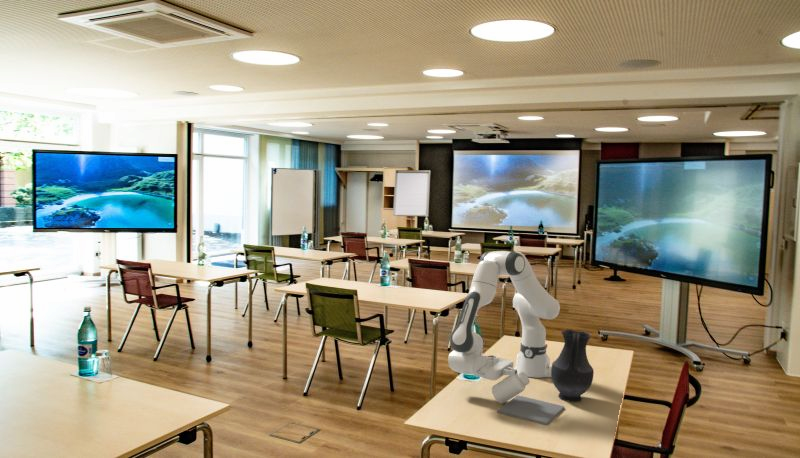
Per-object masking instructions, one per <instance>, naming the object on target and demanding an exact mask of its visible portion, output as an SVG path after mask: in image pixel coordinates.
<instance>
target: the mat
mask: <svg viewBox="0 0 800 458" xmlns="http://www.w3.org/2000/svg"><path fill="white" fill-rule="evenodd" d="M564 409H565V406H564V405H560V404H556V403H553V402H547V401H544V400H539V399H534V398H531V397H527V396H523V395H519V394H518V395H516V396H514V397H513V398H511V399H510V400H508V401H507V403H505V404H504V405H503V406H501V407H500V408H499V409H497V411H496V412H497V413H498V414H502V415H505V416H510V417H513V418H518V419H521V420H525V421H529V422H533V423H537V424H541V425H545V426H548V424H550V422H552V420H554V419H555V418H556V417H557V416H558V415H559V414H560V413H561V412H562V411H564Z"/></svg>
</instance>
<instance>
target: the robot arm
mask: <svg viewBox="0 0 800 458" xmlns="http://www.w3.org/2000/svg"><path fill="white" fill-rule="evenodd" d="M499 276H509V278H510V280H511V282H512V285H513V287H514V289H515V290H516V293H515V294H514V296H513V298H512V306H513V308H514V309H515V311H516V312H517V314H518V316H519V319H520V323H521V329H522V330H521V343H520V346H519V347H520V349H519V350H520V351H519V352H518V353H517V355H516V360H515V362H516V363H515V362H514V361H512V360H511V359H507V358H503V357H497V355H482V351H483V349H484V339H483V338H482V336H481V335H480V334H479V333H476V332H474V331H473V326H474V323H475V319H476V316H477V313H478V311H479V309H481V308H483V307H484V306H487V305H490V304H491V302H492V301H493V300H494V298H495V295H496V292H497V287H498V283H499V282H498V281H499ZM560 310H561V306H560V302H559V301H558V300H557V299H556V298H555V297H553V296H552V295H551V294H550V293H549V292H548V291H547V290H546V289H545V288H544V287H543V285H542V284H541V283H540V281H539V280H538V278H537V276H536V274H535V272H534V269H533V267H532V265H531V264H530V262H529V260H528V258H527V257H526V256H525V254H523V252H521V251H508V250H496V251H493V250H492V251H491V250H490V251H485V252H484V253H482V254H481V256H480V258H479V261H478V264H477V265H476V268H475V271H474V273H473V277H472V280H471V284H470V287H469V291H468V294H467V296H466V297H465V300H464V302H463V305H462V309H461V312H460V315H459V318H458V321H457V324H456V325H455V327H454V329H452V332H451V334H450V337H449V343H450V344H449V345H450V347H452V349H453V350H452V351H451V352H449V354H448V357H447V363H448V366H449V368H450V369H451V370H452V371H453V372H457V373H459V374H462V375H473V376H475V377H479V378H483V379H486V380H490V381H498V379H500V378H501V377H503V376H509V375H513V376H514V375H515V374H519V373H521V372H524V373H525V374H526V375H527V376H528V378H538V379H539V378H552V377H551V368H552V365H550V363H551V358H550V357H549V355H548V354H547V348H548V344H547V343H546V337H547V335H546V333H547V330H546V327H545V326H544V325H543V323H542V321H541V320H540V319H542V320H554V319H555V318H557V317H558V316H559V313H560ZM514 363H515V366H514Z"/></svg>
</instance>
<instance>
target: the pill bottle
mask: <svg viewBox="0 0 800 458" xmlns="http://www.w3.org/2000/svg"><path fill="white" fill-rule="evenodd" d="M529 378H530V377H528V376H527V375H526V374H525V373H524V372H521V373H519V374H518V373H517V374H515V375H514V376H513V375H507V376H506V377H504V378H503V379H502V380H500V381H498V382H497V383H496V384H494V385H493V386H492V387H491V394H492V396H493V398H494V399H495V401H496V402H498V403H499V404H504V403H505V404H506V402H509V401H510V400H512V399H513V398H515V397H516V396H518V395H519V394H520V393H523V392H524V391H525V389H526V386H527V385H529V384H530V379H529Z"/></svg>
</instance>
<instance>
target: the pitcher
mask: <svg viewBox="0 0 800 458" xmlns="http://www.w3.org/2000/svg"><path fill="white" fill-rule="evenodd" d="M561 336H562V337H563V340H564V345H563V348H562V349H561V352H560V353H559V355H558V357H557V358H556V359H555V360H554V361H553V362H552V363H551V367H552V368H551V377H550V378H551V381H552V383H553V386H554V387H555V388H556V389H557V391H558V392H559V394H558V398H559V399H560V400H561V401H562V400H563V401H565V402H570V403H578V402H582V400H583V398H582V395H584V394H585V393H586V392H587V391H589V389H590V388H591V386H592V384H593V381H594V368H593V366H592V365H591V363H590V362H589V359H588V355H587V344H588V342H589V341H590V338H591V337H592V335H591V334H590V333H589V332H587V331H583V330H581V331H578V330H573V329H565V330H562V331H561Z"/></svg>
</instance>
